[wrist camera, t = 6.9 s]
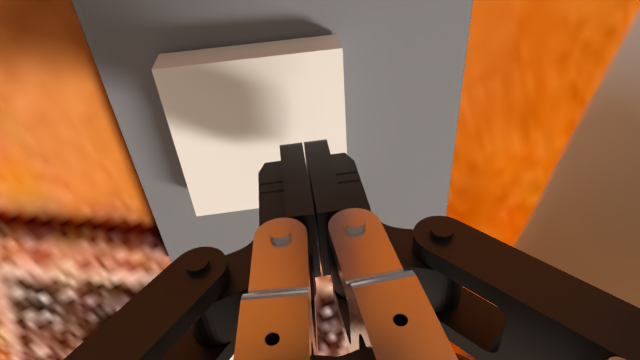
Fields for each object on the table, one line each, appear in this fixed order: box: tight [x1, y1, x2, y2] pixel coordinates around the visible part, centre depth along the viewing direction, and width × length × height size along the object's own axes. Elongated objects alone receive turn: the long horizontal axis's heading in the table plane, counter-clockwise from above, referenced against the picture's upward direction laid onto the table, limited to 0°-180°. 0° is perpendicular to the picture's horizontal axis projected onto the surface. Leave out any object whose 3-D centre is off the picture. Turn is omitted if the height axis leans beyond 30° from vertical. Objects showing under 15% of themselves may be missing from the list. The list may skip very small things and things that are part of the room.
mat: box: [71, 0, 473, 263], centre depth 17 cm, size 14×13×1 cm
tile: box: [152, 34, 347, 216], centre depth 16 cm, size 6×2×6 cm
